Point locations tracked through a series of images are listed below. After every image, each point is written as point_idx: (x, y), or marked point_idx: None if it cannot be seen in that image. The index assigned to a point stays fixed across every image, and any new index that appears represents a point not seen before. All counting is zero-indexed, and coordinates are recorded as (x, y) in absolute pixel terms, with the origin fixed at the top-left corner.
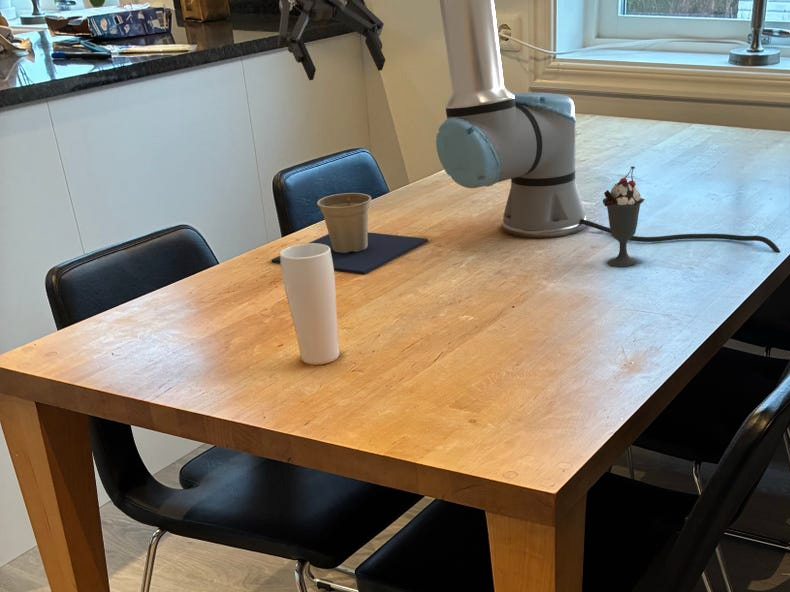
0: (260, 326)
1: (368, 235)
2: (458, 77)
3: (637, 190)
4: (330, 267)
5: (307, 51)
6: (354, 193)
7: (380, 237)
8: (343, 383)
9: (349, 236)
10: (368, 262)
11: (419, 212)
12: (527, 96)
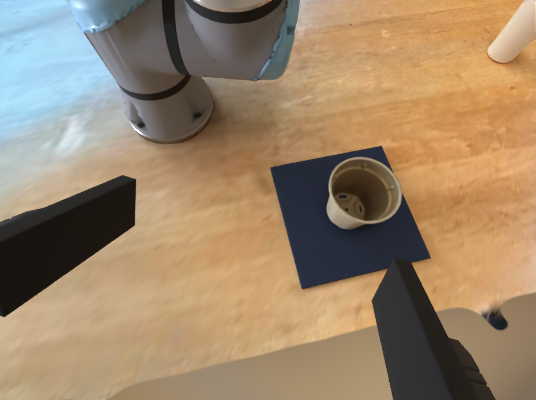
0: (511, 125)
1: (299, 232)
2: None
3: None
4: None
5: (422, 323)
6: (335, 201)
7: (296, 213)
8: (502, 26)
9: (363, 187)
10: None
11: (178, 264)
12: None
